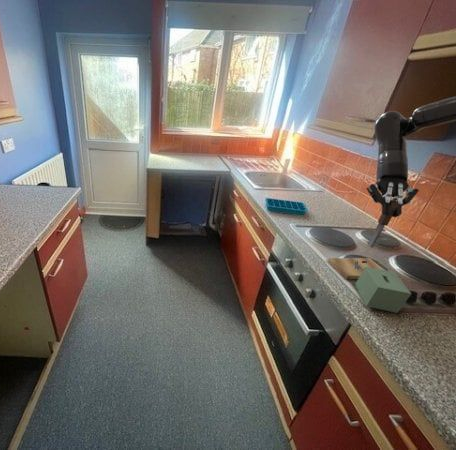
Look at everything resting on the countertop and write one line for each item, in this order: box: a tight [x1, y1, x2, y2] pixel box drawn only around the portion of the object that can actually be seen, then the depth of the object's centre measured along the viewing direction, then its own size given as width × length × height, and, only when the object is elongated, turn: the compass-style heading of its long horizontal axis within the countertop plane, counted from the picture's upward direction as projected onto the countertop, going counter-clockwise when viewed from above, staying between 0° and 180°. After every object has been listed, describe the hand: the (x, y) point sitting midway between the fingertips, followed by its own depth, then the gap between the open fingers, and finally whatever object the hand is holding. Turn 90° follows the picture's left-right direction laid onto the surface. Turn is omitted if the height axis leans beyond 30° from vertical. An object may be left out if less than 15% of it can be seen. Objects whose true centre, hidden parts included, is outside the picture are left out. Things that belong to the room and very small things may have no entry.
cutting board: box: [327, 257, 385, 280], centre depth 92 cm, size 16×10×2 cm, turn 92°
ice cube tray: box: [264, 197, 309, 216], centre depth 135 cm, size 12×20×3 cm, turn 73°
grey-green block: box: [354, 267, 412, 314], centre depth 78 cm, size 10×8×8 cm
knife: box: [367, 199, 399, 249], centre depth 83 cm, size 3×2×17 cm
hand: (391, 215), depth 79 cm, fingers closed on knife, 2 cm apart
